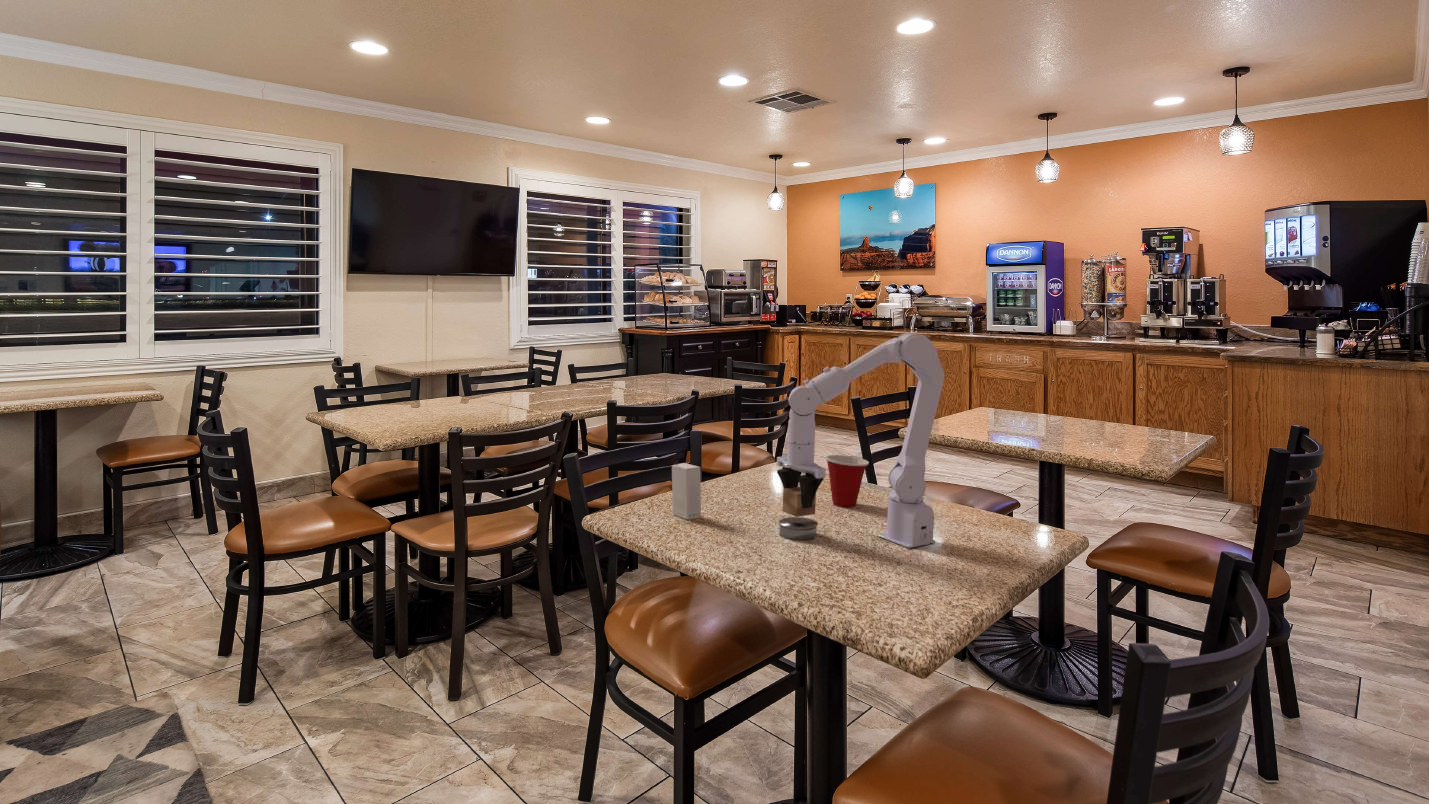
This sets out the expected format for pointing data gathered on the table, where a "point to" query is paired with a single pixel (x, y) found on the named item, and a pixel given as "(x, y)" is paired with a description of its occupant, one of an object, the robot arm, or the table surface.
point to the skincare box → (686, 491)
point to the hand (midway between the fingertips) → (798, 504)
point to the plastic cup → (845, 478)
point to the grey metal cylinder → (798, 528)
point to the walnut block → (796, 503)
